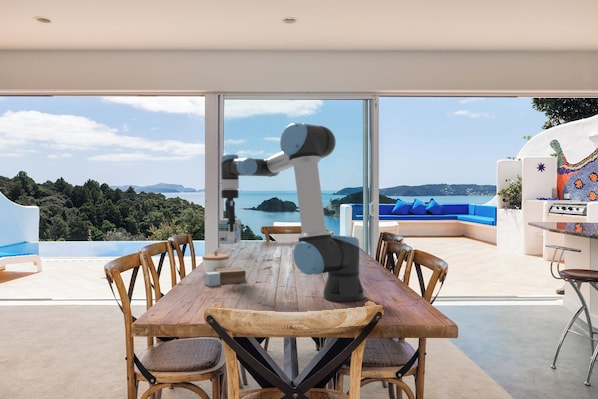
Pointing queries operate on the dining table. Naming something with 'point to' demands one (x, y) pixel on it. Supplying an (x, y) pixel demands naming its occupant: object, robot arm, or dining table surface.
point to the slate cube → (212, 278)
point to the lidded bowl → (215, 261)
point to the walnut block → (231, 274)
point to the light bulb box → (224, 232)
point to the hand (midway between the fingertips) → (229, 237)
